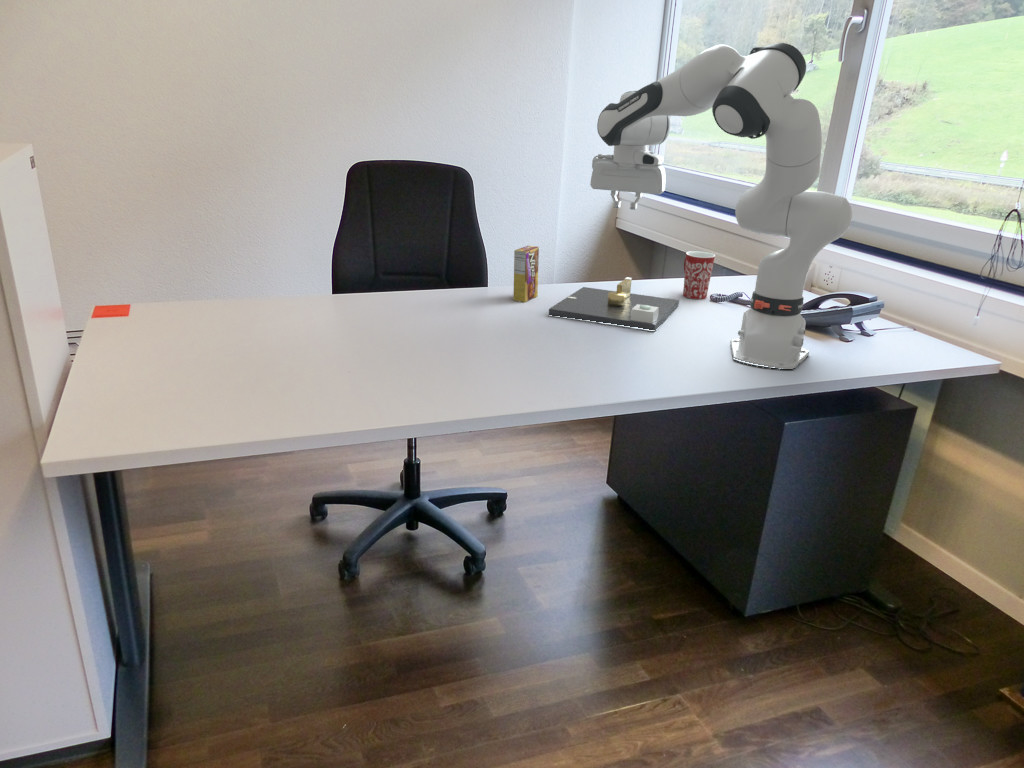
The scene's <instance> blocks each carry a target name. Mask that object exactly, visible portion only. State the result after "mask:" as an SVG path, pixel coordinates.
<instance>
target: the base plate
mask: <svg viewBox="0 0 1024 768" xmlns="http://www.w3.org/2000/svg"><path fill="white" fill-rule="evenodd" d="M611 291H612V290H608V289H600V288H594V287H588V286H583V287H581V288H579V289H577V291H575V292H573V293H572V294H570V295H569V296H567V297H566V298H564V299H562V300H561V301H559V302H558V303H556V304H554V305H552V306H551V307H550V308H548V316H549V315H552V316H551V317H554V316H560V317H567V318H575V319H582V320H590V321H596V322H603V323H611V324H617V325H624V326H630V327H638V328H643V329H649V330H656V329H657V328H658V327H659V326H660V325H661V324H662V325H663V324H664V323H665V321H666V320H667V319H668V318H669V317H670V316H671V315H672V314H673V312H675V311H676V310H677V309H678V307H679V305H680V304H679V303H680V299H674V298H666V297H659V296H651V295H647V294H646V295H644V294H638V293H632V292H630V296H628V297H627V298H626V300H625V305H623V306H614V305H610V304H608V293H609V292H611ZM560 317H559V318H560ZM567 318H566V319H567ZM662 325H661V326H662ZM661 326H660V327H661ZM660 327H659V328H660ZM659 328H658V329H659ZM658 329H657V330H658ZM657 330H656V331H657Z"/></svg>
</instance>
